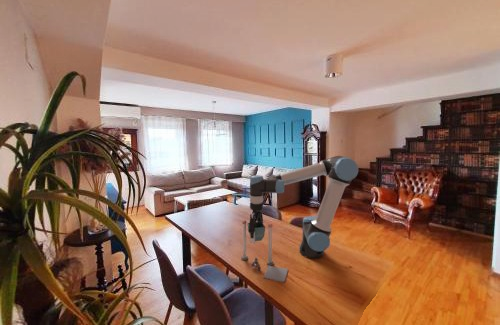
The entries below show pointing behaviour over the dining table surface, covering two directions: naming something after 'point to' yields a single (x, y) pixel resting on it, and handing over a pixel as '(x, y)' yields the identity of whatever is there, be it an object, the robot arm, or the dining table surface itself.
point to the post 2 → (270, 246)
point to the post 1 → (244, 241)
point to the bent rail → (256, 265)
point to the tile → (276, 274)
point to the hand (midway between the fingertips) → (256, 238)
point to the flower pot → (258, 231)
